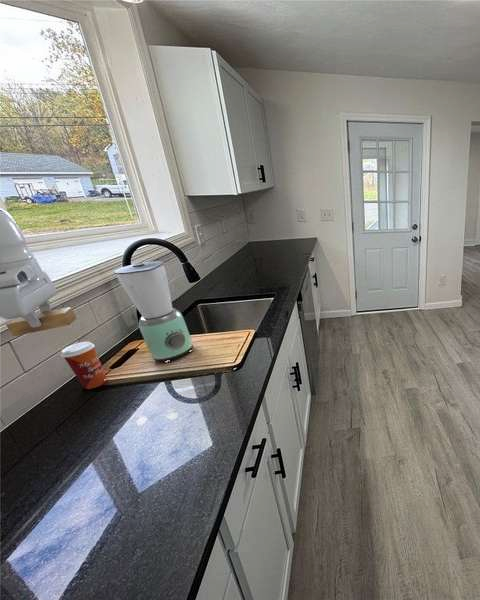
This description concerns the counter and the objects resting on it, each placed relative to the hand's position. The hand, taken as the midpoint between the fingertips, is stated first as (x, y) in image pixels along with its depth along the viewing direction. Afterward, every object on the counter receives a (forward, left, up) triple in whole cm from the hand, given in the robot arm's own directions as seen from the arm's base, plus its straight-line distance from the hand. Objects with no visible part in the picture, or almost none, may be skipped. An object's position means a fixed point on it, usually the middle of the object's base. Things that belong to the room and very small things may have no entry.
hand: (43, 321), depth 83 cm
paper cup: (-1, +11, -27) cm, 29 cm away
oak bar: (0, 0, -2) cm, 2 cm away
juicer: (+20, +18, -27) cm, 38 cm away
